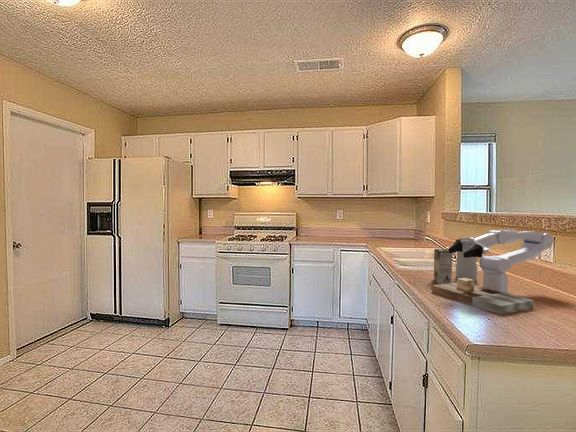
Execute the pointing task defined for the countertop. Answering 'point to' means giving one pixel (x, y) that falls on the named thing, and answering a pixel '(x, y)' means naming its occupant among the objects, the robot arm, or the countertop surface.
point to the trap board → (484, 298)
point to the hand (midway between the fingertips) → (456, 253)
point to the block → (465, 283)
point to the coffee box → (442, 266)
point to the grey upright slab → (466, 265)
